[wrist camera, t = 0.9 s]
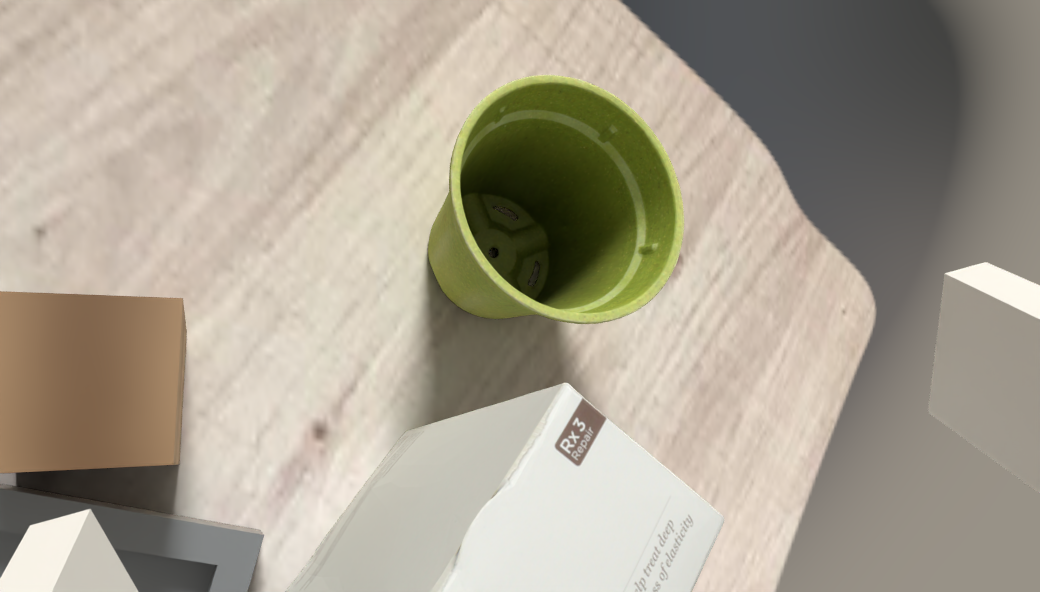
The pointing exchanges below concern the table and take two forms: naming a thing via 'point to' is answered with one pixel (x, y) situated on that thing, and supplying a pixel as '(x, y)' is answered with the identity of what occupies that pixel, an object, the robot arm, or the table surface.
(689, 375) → the table surface
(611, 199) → the plant pot
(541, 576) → the skincare box
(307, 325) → the table surface
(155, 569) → the tray
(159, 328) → the walnut block
